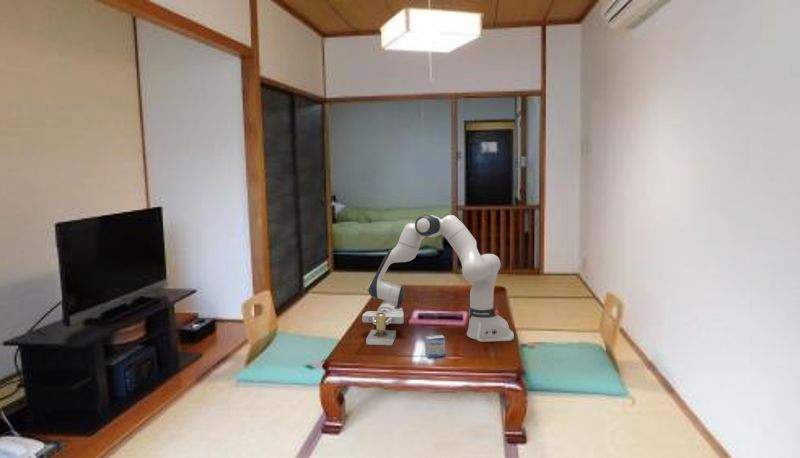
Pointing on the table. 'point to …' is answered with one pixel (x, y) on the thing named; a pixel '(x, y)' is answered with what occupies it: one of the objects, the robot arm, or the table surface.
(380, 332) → the brass bushing
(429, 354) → the medicine box
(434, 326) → the table surface
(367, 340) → the aluminium jig
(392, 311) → the robot arm
